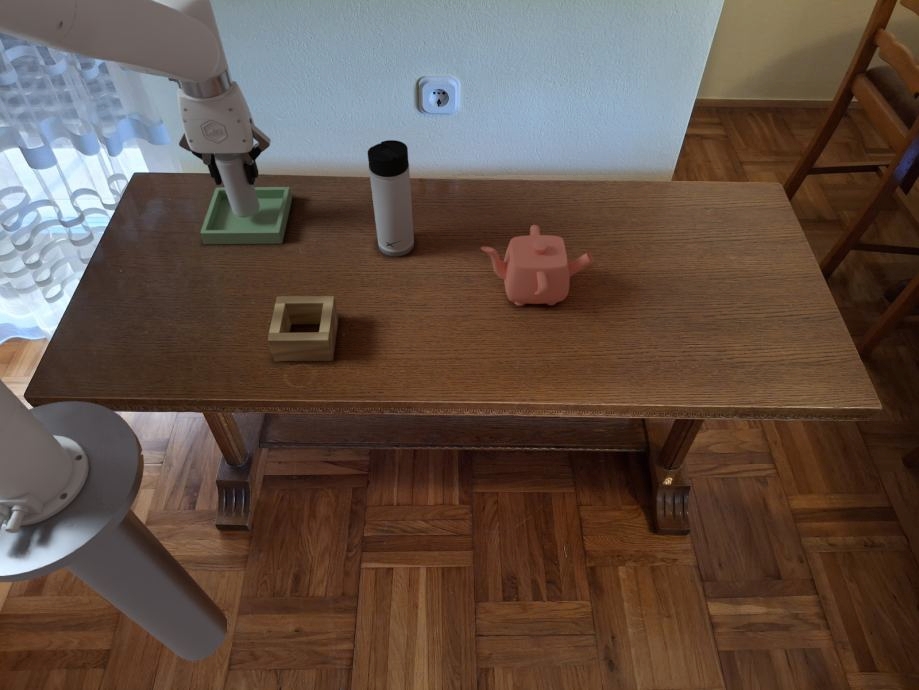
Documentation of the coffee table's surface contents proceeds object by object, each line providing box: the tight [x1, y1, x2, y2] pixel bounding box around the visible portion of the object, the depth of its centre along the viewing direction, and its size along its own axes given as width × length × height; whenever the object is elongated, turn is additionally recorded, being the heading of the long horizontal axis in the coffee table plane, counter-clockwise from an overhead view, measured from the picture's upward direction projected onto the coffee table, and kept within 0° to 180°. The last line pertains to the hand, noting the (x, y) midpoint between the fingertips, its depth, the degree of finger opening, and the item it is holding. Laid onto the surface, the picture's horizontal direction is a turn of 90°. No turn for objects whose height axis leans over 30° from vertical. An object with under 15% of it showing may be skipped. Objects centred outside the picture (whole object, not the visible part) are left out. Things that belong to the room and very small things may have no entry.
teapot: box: [480, 224, 595, 306], centre depth 104 cm, size 14×12×10 cm
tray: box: [200, 186, 293, 245], centre depth 118 cm, size 13×14×3 cm
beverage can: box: [214, 153, 260, 218], centre depth 112 cm, size 5×5×12 cm
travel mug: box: [367, 139, 415, 257], centre depth 107 cm, size 6×7×20 cm
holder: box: [267, 295, 339, 362], centre depth 99 cm, size 9×9×5 cm
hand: (236, 179), depth 111 cm, fingers closed on beverage can, 4 cm apart
